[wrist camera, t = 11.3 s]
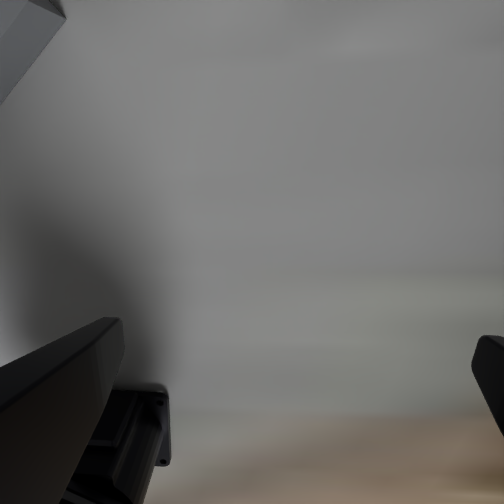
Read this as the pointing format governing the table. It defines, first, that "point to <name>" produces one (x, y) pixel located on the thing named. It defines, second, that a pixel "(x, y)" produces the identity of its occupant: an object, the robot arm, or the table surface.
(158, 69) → the table surface
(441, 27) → the table surface
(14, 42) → the case
